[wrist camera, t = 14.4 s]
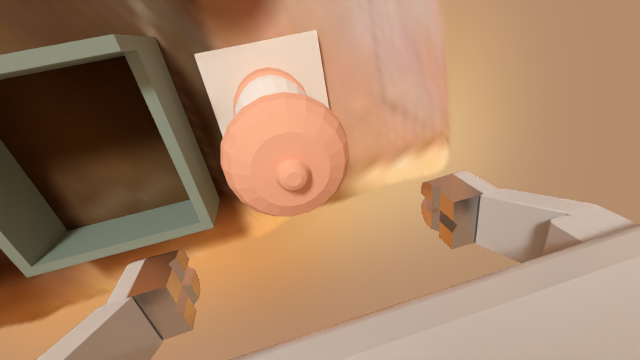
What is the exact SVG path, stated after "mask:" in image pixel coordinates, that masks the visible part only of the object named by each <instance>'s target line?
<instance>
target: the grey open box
mask: <svg viewBox="0 0 640 360" xmlns="http://www.w3.org/2000/svg"><path fill="white" fill-rule="evenodd" d="M121 56H125V57H126V59H127V61H128V64H129V66H130V68H131V70H132V72H133V75H134V77H135V79H136V81H137V83H138V86H139V88H140V90H141V92H142V94H143V97H144V99H145V101H146V103H147V105H148V108H149V110H150V112H151V114H152V116H153V119H154V121H155V123H156V125H157V127H158V130H159V132H160V134H161V136H162V138H163V141H164V143H165V145H166V147H167V149H168V152H169V154H170V156H171V158H172V160H173V163H174V165H175V167H176V169H177V171H178V174H179V176H180V178H181V180H182V182H183V185H184V187H185V189H186V191H187V193H188V195H189V198H190V200H187V201H183V202H179V203H175V204H171V205H167V206H163V207H159V208H155V209H151V210H147V211H143V212H140V213H136V214H132V215H128V216H124V217H120V218H116V219H112V220H108V221H104V222H100V223H96V224H92V225H88V226H84V227H80V228H76V229H73V230H69V231H67V229H66V228H65V226H64V225H63V224H62V222H61V221H60V220H59V218H58V217H57V216H56V214H55V213H54V211H53V210H52V209H51V207H50V206H49V205H48V203H47V202H46V201H45V199H44V198H43V196H42V195H41V194H40V192H39V191H38V190H37V188H36V187H35V186H34V184H33V183H32V181H31V180H30V179H29V177H28V176H27V175H26V173H25V172H24V171H23V169H22V168H21V166H20V165H19V164H18V162H17V161H16V160H15V158H14V157H13V156H12V154H11V153H10V152H9V150H8V149H7V147H6V146H5V145H4V143H3V142H2V141H1V139H0V248H1V250H2V251H3V252H4V253H5V254H6V255H7V256H8V257H9V258H10V260H11V261H12V262H13V263H14V264H15V265H16V266H17V267H18V268H19V269H20V271H21V272H22V273H23V274H24V275H25V276H26V277H27V278H28V277H31V276H35V275H39V274H43V273H46V272H50V271H54V270H58V269H61V268H65V267H69V266H73V265H76V264H80V263H84V262H88V261H91V260H95V259H99V258H103V257H106V256H110V255H114V254H118V253H121V252H125V251H129V250H133V249H136V248H140V247H144V246H148V245H151V244H155V243H159V242H163V241H166V240H170V239H174V238H178V237H181V236H185V235H189V234H193V233H196V232H200V231H204V230H208V229H211V228H214V226H215V221H216V216H217V212H218V207H219V202H220V199H219V196H218V194H217V191H216V189H215V186H214V184H213V181H212V179H211V176H210V173H209V171H208V168H207V166H206V163H205V161H204V158H203V156H202V153H201V151H200V148H199V146H198V143H197V141H196V138H195V136H194V133H193V131H192V128H191V126H190V123H189V121H188V118H187V116H186V113H185V111H184V108H183V106H182V103H181V101H180V98H179V96H178V93H177V91H176V88H175V86H174V83H173V81H172V78H171V76H170V73H169V71H168V68H167V66H166V63H165V61H164V58H163V56H162V53H161V51H160V48H159V46H158V43H157V40H156V38H155V37H145V36H131V35H118V34H112V35H106V36H101V37H95V38H90V39H85V40H79V41H74V42H68V43H63V44H58V45H52V46H47V47H41V48H36V49H31V50H25V51H20V52H14V53H9V54H3V55H0V80H2V79H7V78H13V77H18V76H23V75H28V74H33V73H38V72H43V71H49V70H54V69H59V68H64V67H69V66H74V65H80V64H85V63H90V62H95V61H100V60H105V59H111V58H116V57H121Z"/></svg>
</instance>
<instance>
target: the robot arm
mask: <svg viewBox="0 0 640 360" xmlns="http://www.w3.org/2000/svg"><path fill="white" fill-rule="evenodd" d="M421 194H422V195H423V196H424V197H425V199H424V200H423V202H422V204H421V208H422V214H423V217H424V220H425V222H426V223H427V225H428V226H429V227H430V228H431V229H434V230H436V231H439V237H440V238H441V239H442V240H443V241H444V242H445V243H446V244H447V245H448V246H449V247H450V248H451V249H453V248H457V247H460V246H464V245H467V244H471V243H475V242H476V244H478V245H480V246H483V247H485V248H487V249H490V250H492V251H494V252H497V253H499V254H501V255H503V256H506V257H508V258H510V259H513V260H515V261H517V262H520V263H521V264H518V265H515V266H512V267H509V268H506V269H503V270H500V271H497V272H494V273H491V274H488V275H485V276H482V277H479V278H476V279H473V280H470V281H466V282H464V283H460V284H457V285H454V286H451V287H448V288H445V289H442V290H439V291H436V292H433V293H430V294H427V295H424V296H421V297H418V298H415V299H412V300H408V301H405V302H402V303H399V304H397V305H393V306H390V307H387V308H384V309H381V310H378V311H375V312H372V313H369V314H366V315H363V316H360V317H357V318H354V319H351V320H348V321H345V322H342V323H339V324H336V325H333V326H330V327H327V328H324V329H321V330H318V331H315V332H312V333H309V334H306V335H303V336H300V337H297V338H294V339H291V340H288V341H285V342H281V343H279V344H276V345H273V346H269V347H266V348H263V349H260V350H257V351H254V352H251V353H249V354H245V355H242V356H239V357H236V358H233V359H230V360H640V224H639V225H638V224H636V223H634V222H632V221H630V220H628V219H625V218H623V217H621V216H619V215H617V214H615V213H613V212H611V211H608V210H606V209H604V208H602V207H600V206H598V205H595V204H590V203H584V202H579V201H573V200H567V199H561V198H555V197H549V196H544V195H538V194H532V193H526V192H520V191H515V190H510V189H500V190H499V189H497V188H495V187H494V186H492V185H491V184H489V183H487V182H485V181H484V180H482V179H480V178H478V177H477V176H475V175H473V174H471V173H470V172H468V171H463V170H462V171H458V172H455V173H452V174H449V175H446V176H443V177H440V178H436V179H433V180H430V181H427V182H423V183H422V186H421ZM188 261H189V258H188V256H187V255H186V253H185V251H183V250H181V249H180V250H177V251H173V252H169V253H165V254H161V255H157V256H153V257H149V258H145V259H142V260H138V261H135V262H132V263H130V264H128V265H127V267H126V269H125V270H124V272H123V274H122V276H121V278H120V279H119V281H118V283H117V285H116V287H115V288H114V290H113V292H112V294H111V296H110V298H109V299H108V301H107V303H106V305H102V306H100V307H98V308H97V309H96V310H95V311H93V312H92V313H91V314H90V315H89V316H87V317H86V318H85V319H84V320H83V321H82V322H80V323H79V324H78V325H77V326H76V327H74V328H73V329H72V330H71V331H70V332H68V333H67V334H66V335H65V336H64V337H62V338H61V339H60V340H59V341H58V342H56V343H55V344H54V345H53V346H52V347H51V348H49V349H48V350H47V351H46V352H45V353H43V354H42V355H41V356H40V357H39V358H37V359H36V360H150V359H151V358H152V356H153V355H154V354H155V352H156V351H157V349H158V348H159V346H160V345H161V344H162V342H163V341H162V340H165V339H167V338H171V337H173V336H176V335H179V334H182V333H185V332H188V331H191V330H192V329H193V325H194V321H195V316H196V309H195V308H194V306H193V305H194V304H195V302H197V300H198V299H199V294H200V284H199V279H198V276H197V274H196V271H195V270H194V269H192V268H190V267H189V266H187V265H188Z"/></svg>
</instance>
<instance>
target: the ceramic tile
mask: <svg viewBox="0 0 640 360" xmlns="http://www.w3.org/2000/svg"><path fill="white" fill-rule="evenodd" d="M194 56H195V59H196V62H197V64H198V67H199V70H200V73H201V76H202V79H203V82H204V84H205V87H206V90H207V93H208V96H209V99H210V101H211V104H212V107H213V110H214V113H215V116H216V119H217V121H218V124H219V127H220V130H221V133H222V136H224V134H225V131H226V128H227V126H228V124H229V123H230V121H231V120H232V119H233V118H234V117H235V116H234V113H233V107H234V97H235V95H236V92H237V89H238V86H239V84H240V83H241V81H242V80H243V79H244V78H245V76H246V75H248V74H249V73H251V72H253V71H254V70H256V69H261V68H266V67H270V68H277V69H281V70H283V71H285V72H287V73H289V74H290V75H291V76H293V77H294V78H295V79H296V80H297V81H298V82H299V83H300V84H301V85H302V86H303V88H304V90H305V92H306V94H307V96H309V97H311V98H313V99H315V100H317V101H319V102H321V103H324V104H325V105H326V106H327V107H328V108H329V105H328V98H327V92H326V86H325V80H324V74H323V67H322V61H321V55H320V49H319V43H318V36H317V30H314V31H309V32H303V33H298V34H293V35H288V36H283V37H278V38H273V39H268V40H263V41H258V42H253V43H248V44H243V45H238V46H233V47H228V48H223V49H218V50H213V51H208V52H203V53H198V54H194Z"/></svg>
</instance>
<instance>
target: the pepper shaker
mask: <svg viewBox="0 0 640 360" xmlns="http://www.w3.org/2000/svg"><path fill="white" fill-rule="evenodd" d="M233 113H234V116H235V117H234V118H233V119H232V120H231V121H230V123H229V124H228V126H227V128H226V131H225V134H224V136H223V139H222V142H221V166H222V169H223V172H224V175H225V178H226V180H227V183H228V185H229V187H230V188H231V189H232V190H233V192H234V193H235V194H236V195H237V197H238V198H239V199H240V200H241V201H242V202H243V203H245V204H246V205H248V206H249V207H251V208H253V209H254V210H256V211H258V212H261V213H265V214H268V215H272V216H296V215H299V214H303V213H307V212H310V211H312V210H314V209H315V208H317V207H319V206H321V205H322V204H324V203H325V202H326V201H327V200H328V199H329V198H330V197H331V196H332V195H333V194H334V193H335V192H336V191H337V190H338V189H339V187H340V185H341V183H342V181H343V179H344V177H345V176H346V172H347V167H348V162H349V151H348V143H347V136H346V133H345V131H344V129H343V127H342V125H341V123H340V121H339V119H338V117H337V116H336V115H335V114H334V113H333V112H332V111H331V110H330V109H329V108H328V107H327V106H326V105H325V104H324V103H321V102H319V101H317V100H315V99H313V98H311V97H309V96H307V94H306V92H305V90H304V88H303V86H302V85H301V84H300V83H299V82H298V81H297V80H296V79H295V78H294V77H293V76H291V75H290V74H289V73H287V72H285V71H283V70H281V69H277V68H270V67H266V68H261V69H256V70H254V71H253V72H251V73H249V74H248V75H246V76H245V78H244V79H243V80H242V81H241V83H240V84H239V86H238V89H237V92H236V95H235V97H234V107H233Z"/></svg>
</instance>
